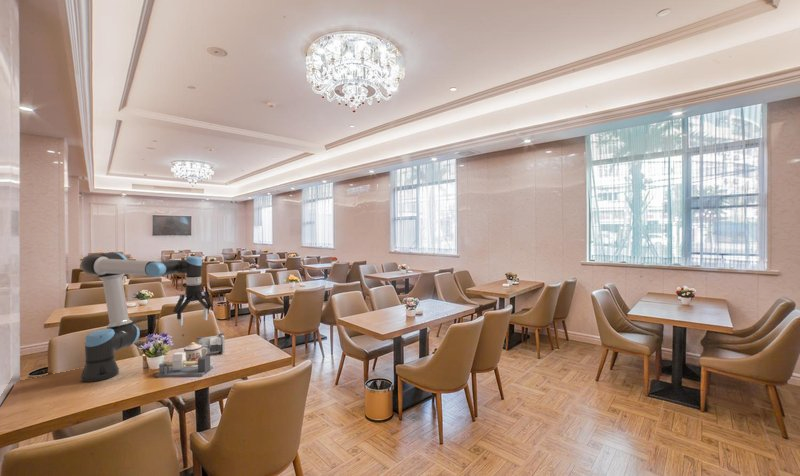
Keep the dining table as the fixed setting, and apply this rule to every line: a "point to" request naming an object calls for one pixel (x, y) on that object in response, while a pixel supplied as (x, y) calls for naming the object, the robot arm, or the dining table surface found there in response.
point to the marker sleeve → (178, 360)
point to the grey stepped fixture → (186, 368)
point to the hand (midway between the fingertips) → (193, 322)
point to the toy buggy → (212, 344)
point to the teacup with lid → (193, 352)
